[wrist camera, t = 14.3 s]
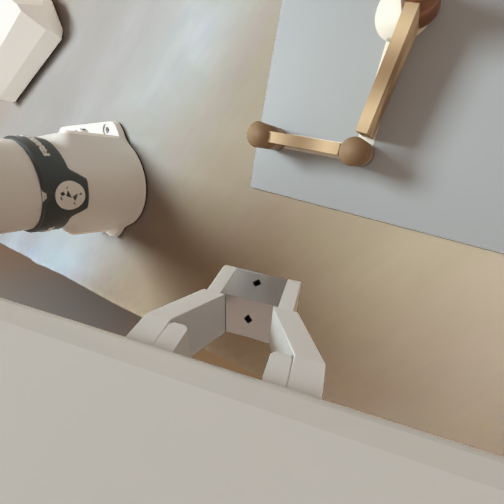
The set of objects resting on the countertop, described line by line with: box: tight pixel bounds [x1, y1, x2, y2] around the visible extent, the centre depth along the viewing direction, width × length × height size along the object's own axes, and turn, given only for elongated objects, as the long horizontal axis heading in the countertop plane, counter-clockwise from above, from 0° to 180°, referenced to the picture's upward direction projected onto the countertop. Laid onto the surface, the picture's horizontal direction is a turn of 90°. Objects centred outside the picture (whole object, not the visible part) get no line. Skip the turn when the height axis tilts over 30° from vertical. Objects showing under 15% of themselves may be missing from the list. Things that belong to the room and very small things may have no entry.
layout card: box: [250, 0, 504, 254], centre depth 27 cm, size 27×22×1 cm
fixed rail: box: [247, 121, 374, 167], centre depth 29 cm, size 12×2×5 cm, turn 79°
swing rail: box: [355, 0, 441, 139], centre depth 20 cm, size 12×3×14 cm, turn 163°
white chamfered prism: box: [0, 0, 63, 102], centre depth 48 cm, size 7×7×24 cm
